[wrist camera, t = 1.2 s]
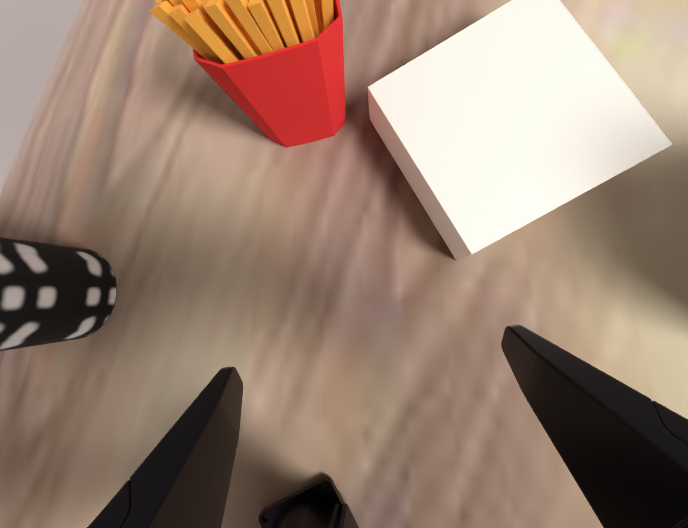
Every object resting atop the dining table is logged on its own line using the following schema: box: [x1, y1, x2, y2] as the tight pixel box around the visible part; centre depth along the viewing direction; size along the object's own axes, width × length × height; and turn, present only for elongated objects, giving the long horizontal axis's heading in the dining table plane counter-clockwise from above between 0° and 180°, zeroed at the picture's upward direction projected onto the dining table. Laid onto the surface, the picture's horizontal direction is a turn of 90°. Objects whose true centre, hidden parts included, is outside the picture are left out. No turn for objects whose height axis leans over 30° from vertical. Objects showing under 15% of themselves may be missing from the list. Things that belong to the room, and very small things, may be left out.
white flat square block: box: [368, 0, 673, 260], centre depth 22 cm, size 14×14×4 cm
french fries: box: [150, 0, 346, 147], centre depth 19 cm, size 9×4×13 cm, turn 101°
